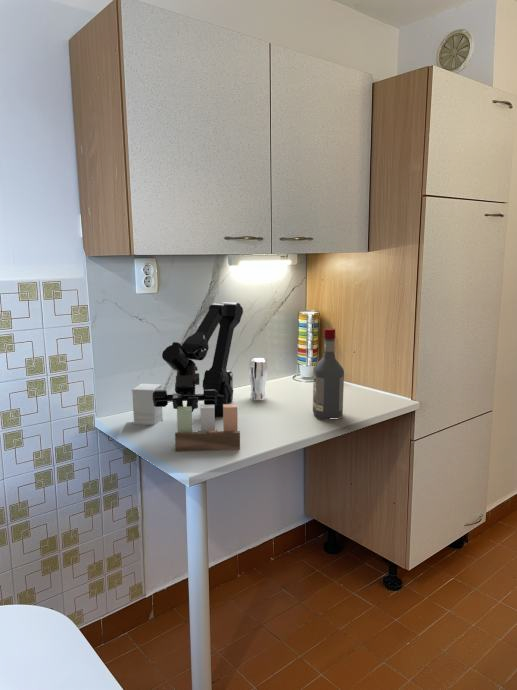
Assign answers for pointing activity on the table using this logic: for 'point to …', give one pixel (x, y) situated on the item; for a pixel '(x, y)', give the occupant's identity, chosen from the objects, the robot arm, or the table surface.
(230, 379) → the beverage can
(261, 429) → the table surface
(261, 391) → the beer glass
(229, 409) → the salmon brown block
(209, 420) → the light grey tall block
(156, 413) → the supplement box
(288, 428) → the table surface
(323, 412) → the liquor
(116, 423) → the table surface
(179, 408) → the sage key
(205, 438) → the keypad base
